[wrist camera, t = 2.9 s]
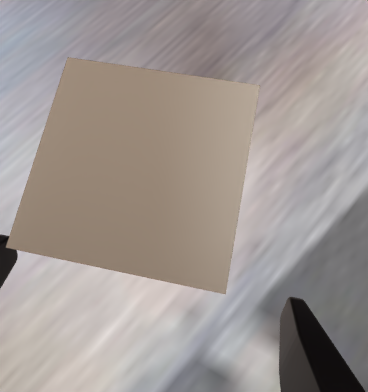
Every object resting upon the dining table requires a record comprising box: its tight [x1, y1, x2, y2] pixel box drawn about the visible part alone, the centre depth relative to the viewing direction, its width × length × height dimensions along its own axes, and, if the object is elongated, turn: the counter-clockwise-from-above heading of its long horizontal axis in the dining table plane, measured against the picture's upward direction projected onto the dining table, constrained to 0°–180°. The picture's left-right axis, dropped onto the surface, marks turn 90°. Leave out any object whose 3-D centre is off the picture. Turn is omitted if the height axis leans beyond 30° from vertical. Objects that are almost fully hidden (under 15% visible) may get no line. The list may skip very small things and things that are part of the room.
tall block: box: [6, 57, 260, 294], centre depth 14 cm, size 5×5×13 cm
